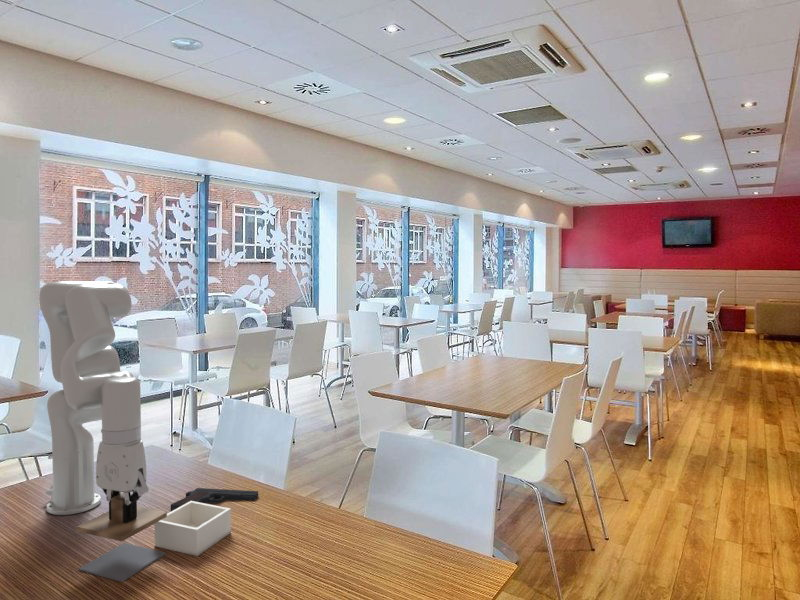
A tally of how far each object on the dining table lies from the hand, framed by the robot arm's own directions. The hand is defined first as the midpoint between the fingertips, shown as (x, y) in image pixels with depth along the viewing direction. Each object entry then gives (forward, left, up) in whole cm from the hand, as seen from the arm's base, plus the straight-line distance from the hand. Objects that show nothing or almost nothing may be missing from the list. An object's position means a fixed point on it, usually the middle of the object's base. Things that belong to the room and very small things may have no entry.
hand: (123, 518), depth 122 cm
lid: (0, 0, -1) cm, 1 cm away
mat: (0, 0, -10) cm, 10 cm away
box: (+7, +14, -10) cm, 18 cm away
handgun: (-2, +33, -11) cm, 34 cm away
